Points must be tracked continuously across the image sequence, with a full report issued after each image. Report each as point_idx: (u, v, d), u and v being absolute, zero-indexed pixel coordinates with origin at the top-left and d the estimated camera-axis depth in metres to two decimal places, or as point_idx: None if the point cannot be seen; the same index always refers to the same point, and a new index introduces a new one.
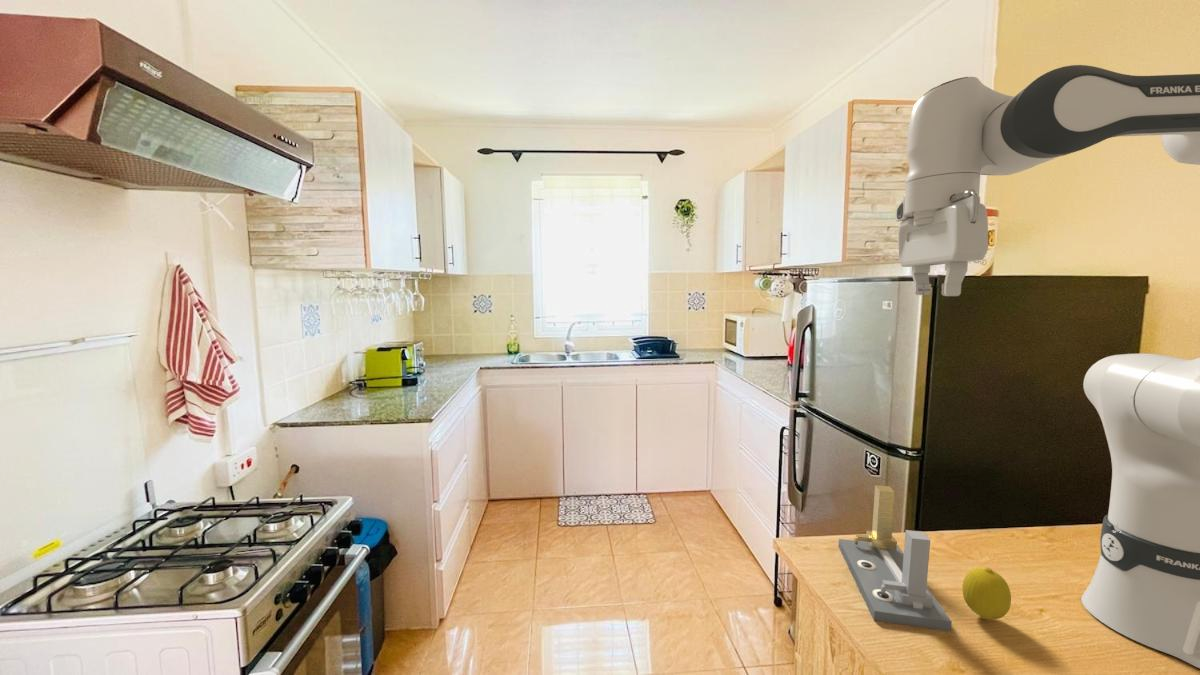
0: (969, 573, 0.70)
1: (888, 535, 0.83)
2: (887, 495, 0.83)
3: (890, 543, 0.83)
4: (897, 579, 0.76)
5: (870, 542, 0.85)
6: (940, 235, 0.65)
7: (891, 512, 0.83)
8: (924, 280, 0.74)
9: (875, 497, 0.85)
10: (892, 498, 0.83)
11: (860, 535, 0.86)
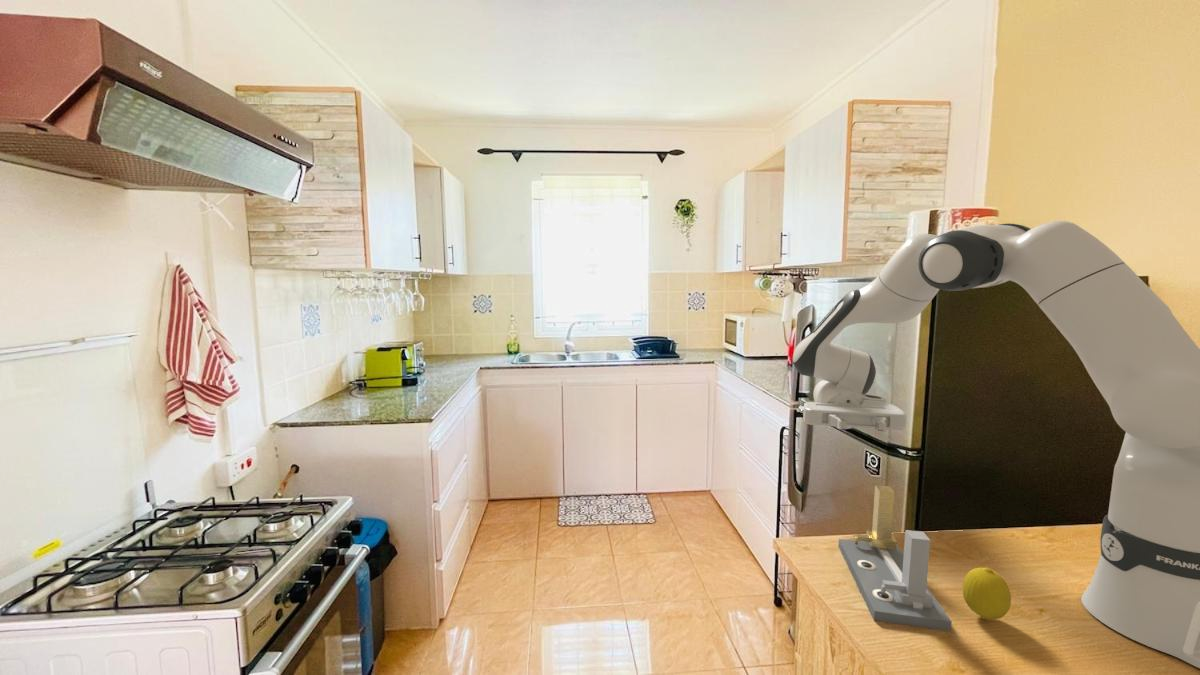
0: (969, 573, 0.70)
1: (888, 535, 0.83)
2: (887, 495, 0.83)
3: (890, 543, 0.83)
4: (897, 579, 0.76)
5: (870, 542, 0.85)
6: None
7: (891, 512, 0.83)
8: None
9: (875, 497, 0.85)
10: (892, 498, 0.83)
11: (860, 535, 0.86)
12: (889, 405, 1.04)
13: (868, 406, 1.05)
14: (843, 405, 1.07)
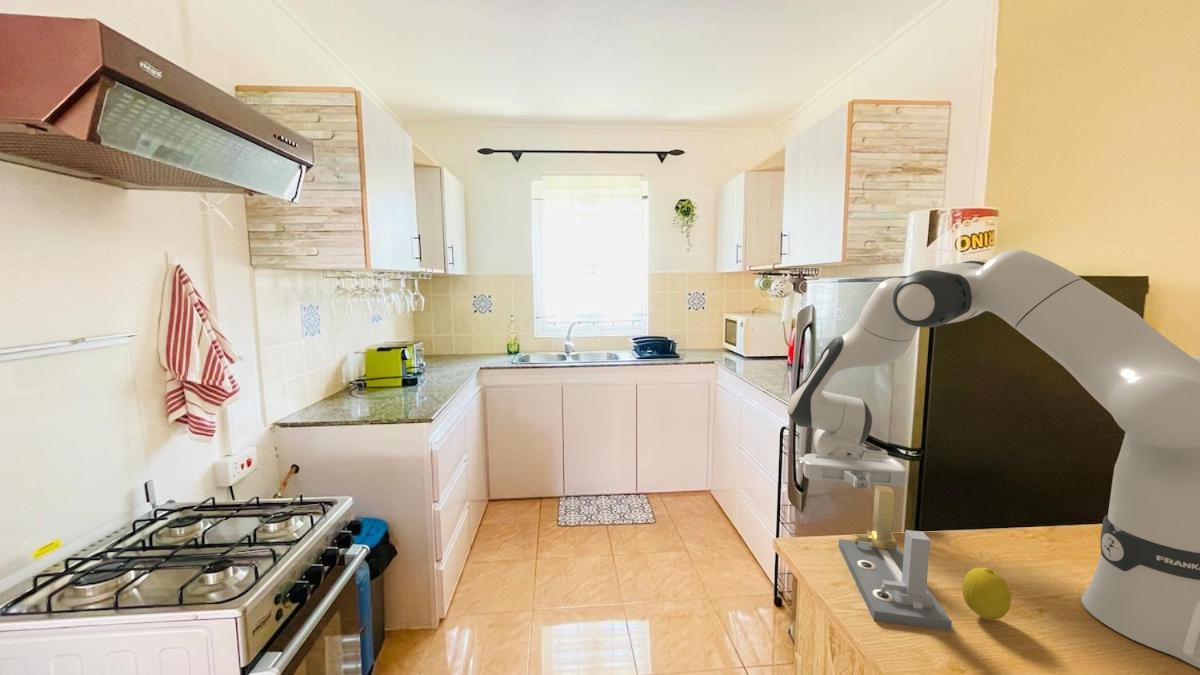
0: (969, 573, 0.70)
1: (888, 535, 0.83)
2: (887, 495, 0.83)
3: (890, 543, 0.83)
4: (897, 579, 0.76)
5: (870, 542, 0.85)
6: None
7: (891, 512, 0.83)
8: None
9: (875, 497, 0.85)
10: (892, 498, 0.83)
11: (860, 535, 0.86)
12: (890, 459, 1.04)
13: (868, 459, 1.05)
14: (843, 458, 1.06)
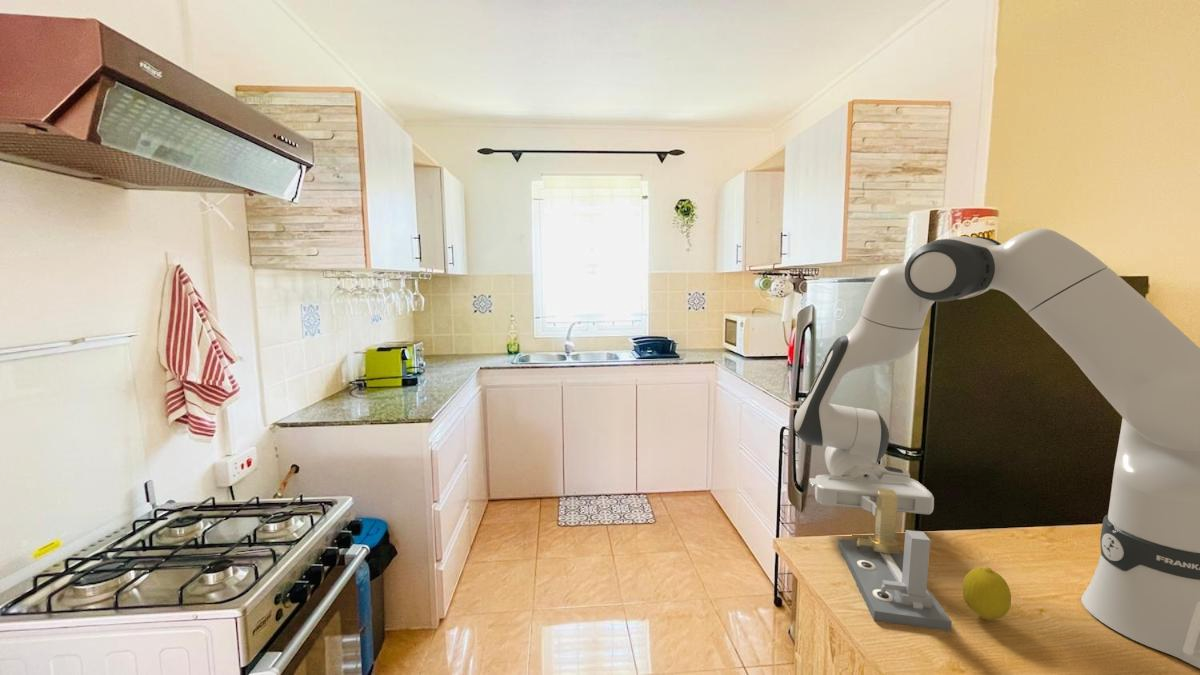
0: (969, 573, 0.70)
1: (891, 539, 0.82)
2: (890, 498, 0.81)
3: (893, 548, 0.82)
4: (897, 579, 0.76)
5: (873, 546, 0.83)
6: None
7: (894, 516, 0.82)
8: None
9: (878, 501, 0.84)
10: (895, 502, 0.81)
11: (863, 540, 0.84)
12: (913, 482, 0.92)
13: (889, 482, 0.93)
14: (860, 480, 0.94)
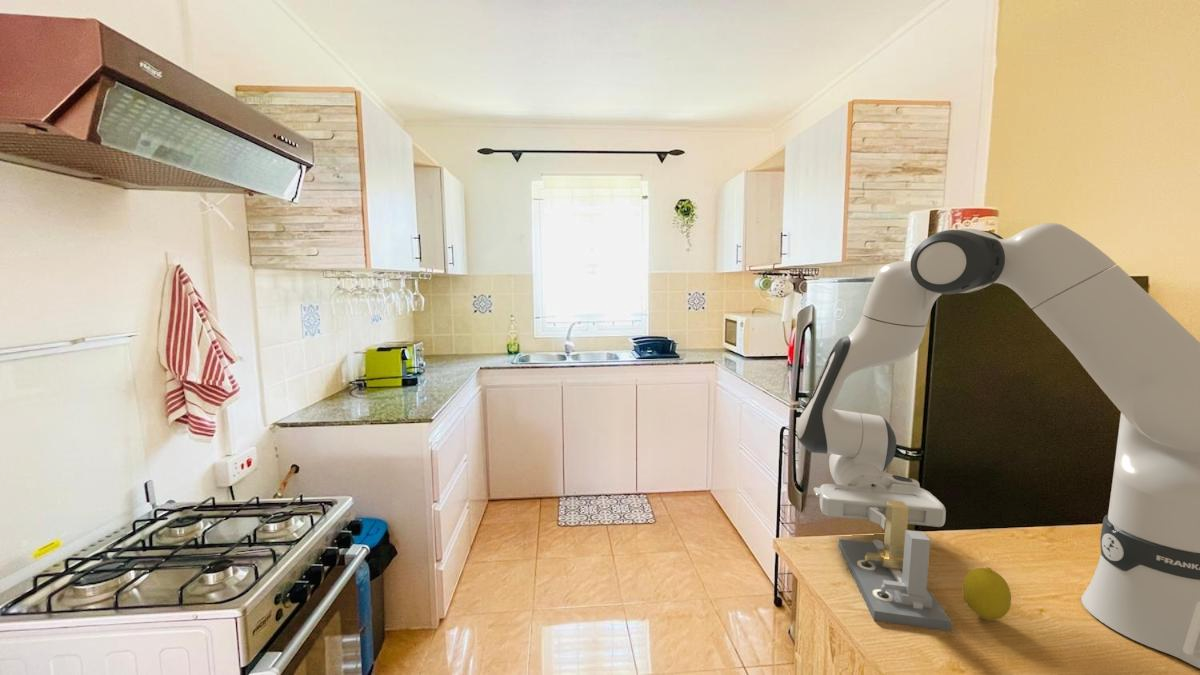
0: (969, 573, 0.70)
1: (901, 554, 0.78)
2: (901, 511, 0.77)
3: None
4: (897, 579, 0.76)
5: (882, 561, 0.79)
6: None
7: (905, 530, 0.77)
8: None
9: (887, 513, 0.79)
10: (906, 515, 0.77)
11: (871, 554, 0.80)
12: (923, 492, 0.87)
13: (897, 492, 0.89)
14: (867, 490, 0.90)
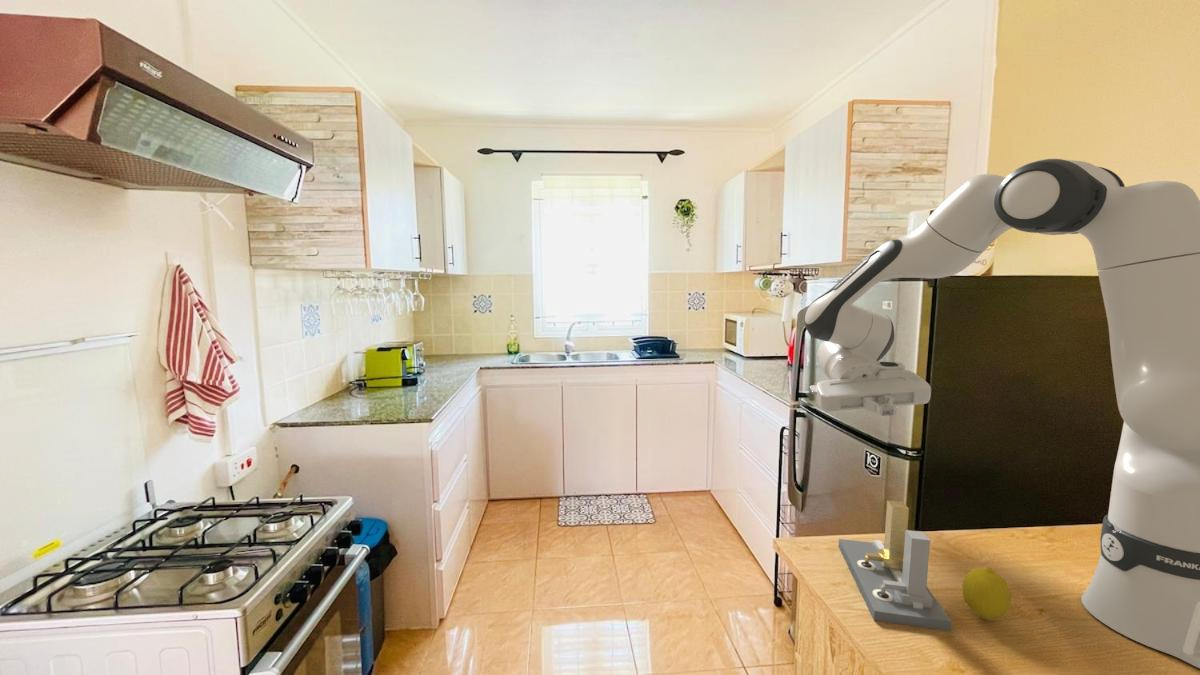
0: (969, 573, 0.70)
1: (901, 554, 0.78)
2: (901, 511, 0.77)
3: None
4: (897, 579, 0.76)
5: (882, 562, 0.79)
6: None
7: (905, 530, 0.77)
8: None
9: (887, 513, 0.79)
10: (906, 515, 0.77)
11: (872, 554, 0.80)
12: (909, 374, 0.94)
13: (886, 378, 0.95)
14: (859, 381, 0.96)
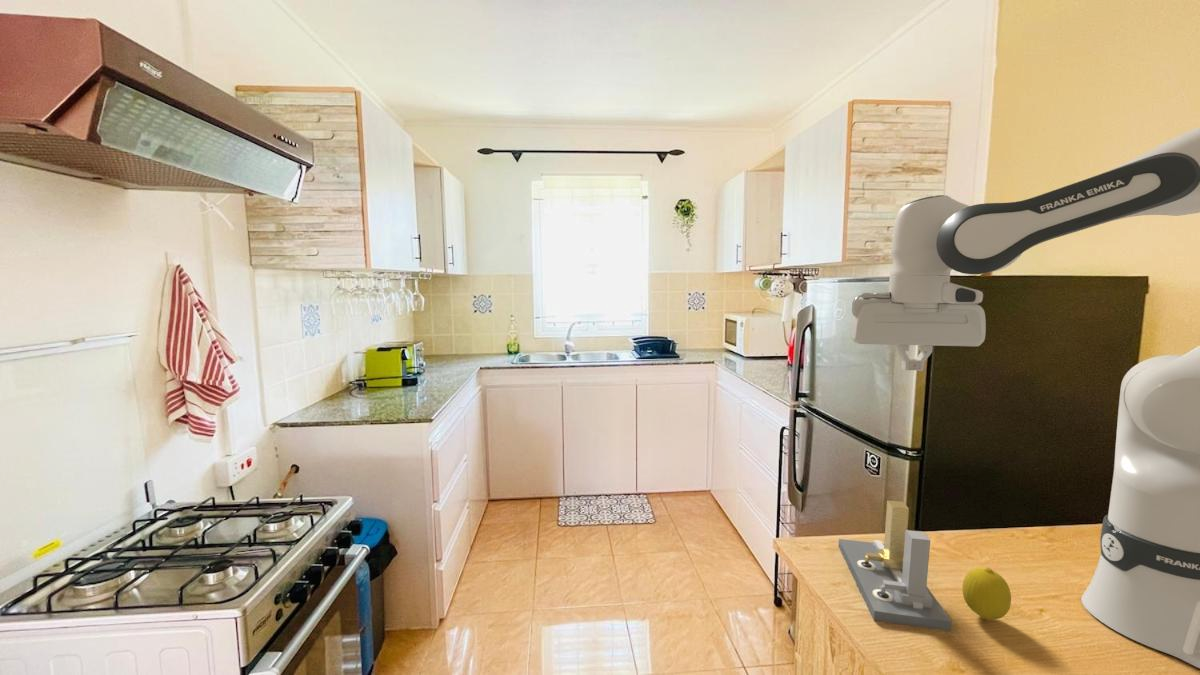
0: (969, 573, 0.70)
1: (901, 554, 0.78)
2: (901, 511, 0.77)
3: None
4: (897, 579, 0.76)
5: (882, 562, 0.79)
6: None
7: (905, 530, 0.77)
8: (920, 357, 0.83)
9: (887, 513, 0.79)
10: (906, 515, 0.77)
11: (872, 554, 0.80)
12: (976, 315, 0.79)
13: (947, 313, 0.80)
14: (913, 313, 0.82)
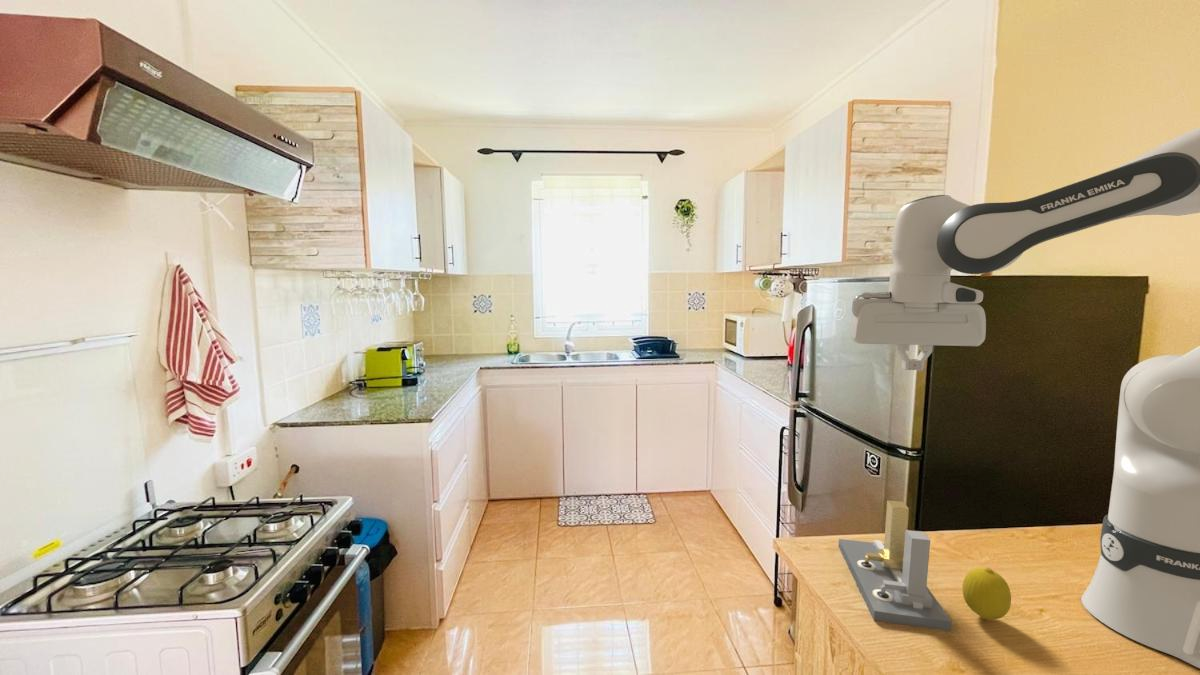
0: (969, 573, 0.70)
1: (901, 554, 0.78)
2: (901, 511, 0.77)
3: None
4: (897, 579, 0.76)
5: (882, 562, 0.79)
6: None
7: (905, 530, 0.77)
8: (920, 357, 0.83)
9: (887, 513, 0.79)
10: (906, 515, 0.77)
11: (872, 554, 0.80)
12: (976, 315, 0.79)
13: (947, 313, 0.80)
14: (913, 313, 0.82)
